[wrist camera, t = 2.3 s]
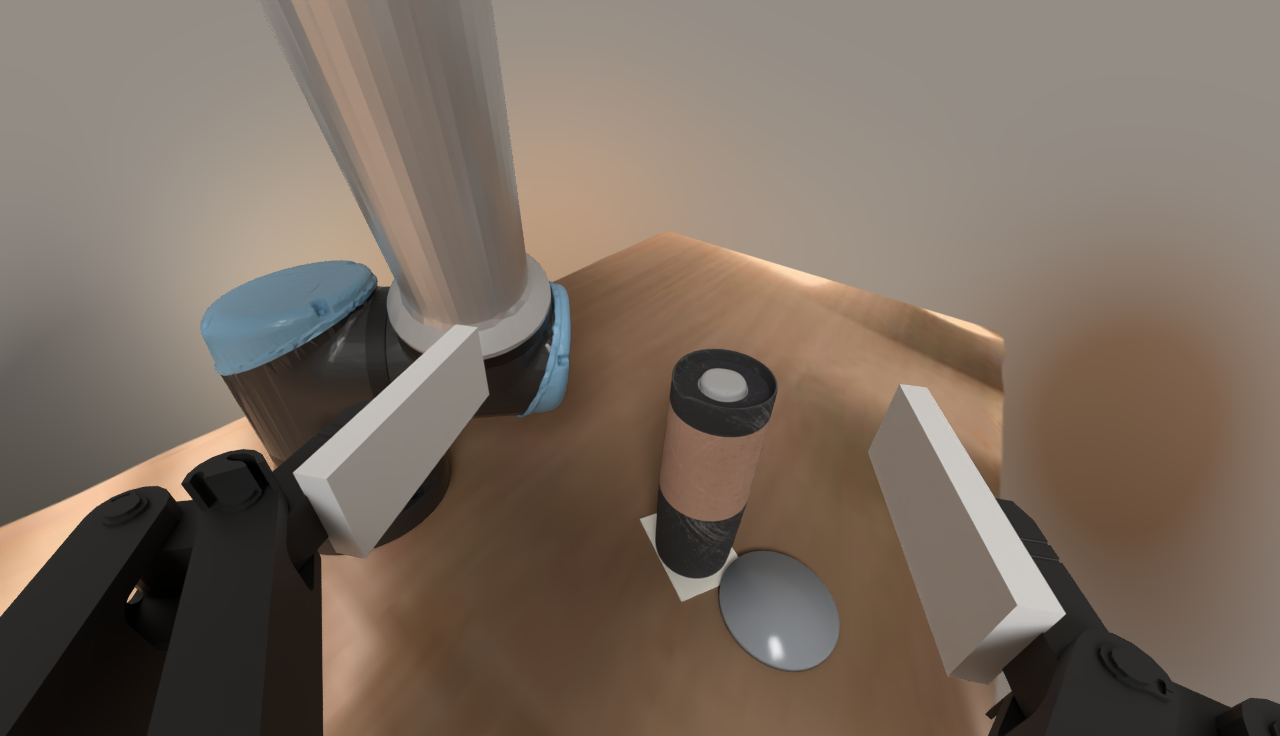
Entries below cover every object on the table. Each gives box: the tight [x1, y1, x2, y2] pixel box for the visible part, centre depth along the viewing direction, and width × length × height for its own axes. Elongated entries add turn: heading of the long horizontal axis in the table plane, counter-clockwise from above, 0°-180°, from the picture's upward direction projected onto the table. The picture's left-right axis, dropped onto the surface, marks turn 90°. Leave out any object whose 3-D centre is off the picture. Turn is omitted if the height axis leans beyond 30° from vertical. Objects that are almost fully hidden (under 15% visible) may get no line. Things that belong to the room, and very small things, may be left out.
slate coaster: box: [719, 551, 839, 672], centre depth 39 cm, size 10×10×1 cm
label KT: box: [640, 513, 738, 602], centre depth 43 cm, size 9×7×1 cm
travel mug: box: [655, 349, 777, 579], centre depth 38 cm, size 8×8×20 cm
